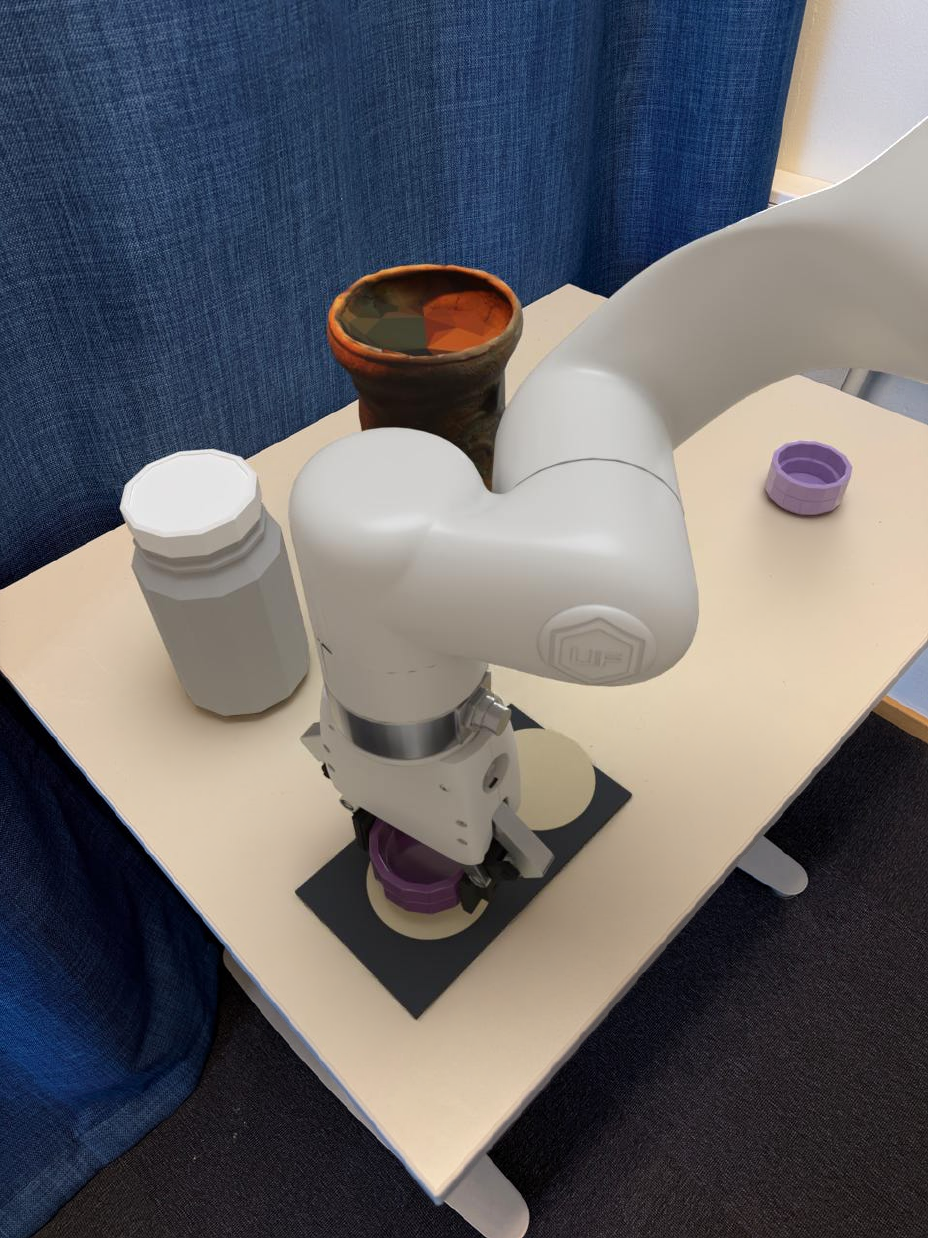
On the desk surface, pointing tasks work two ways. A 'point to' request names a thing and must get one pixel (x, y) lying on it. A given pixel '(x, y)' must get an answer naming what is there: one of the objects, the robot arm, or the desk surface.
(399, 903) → the plum dish
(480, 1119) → the desk surface
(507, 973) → the desk surface
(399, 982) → the mat
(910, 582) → the desk surface
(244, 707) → the jar
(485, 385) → the vessel
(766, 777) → the desk surface
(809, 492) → the lilac dish
